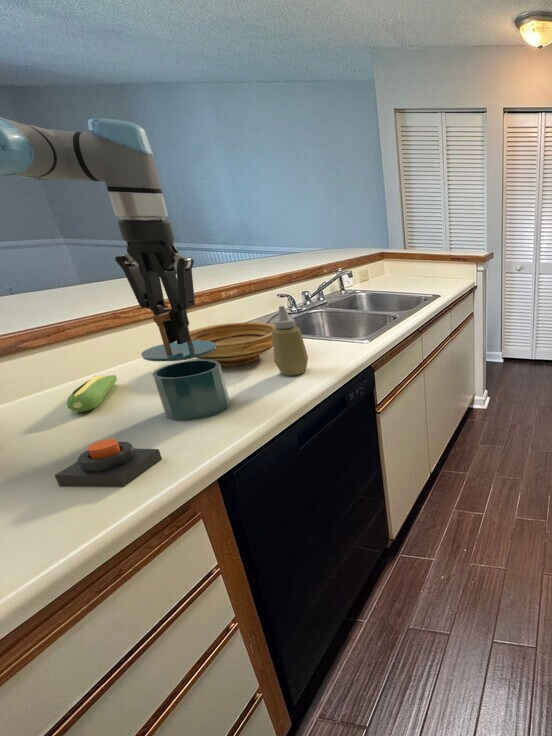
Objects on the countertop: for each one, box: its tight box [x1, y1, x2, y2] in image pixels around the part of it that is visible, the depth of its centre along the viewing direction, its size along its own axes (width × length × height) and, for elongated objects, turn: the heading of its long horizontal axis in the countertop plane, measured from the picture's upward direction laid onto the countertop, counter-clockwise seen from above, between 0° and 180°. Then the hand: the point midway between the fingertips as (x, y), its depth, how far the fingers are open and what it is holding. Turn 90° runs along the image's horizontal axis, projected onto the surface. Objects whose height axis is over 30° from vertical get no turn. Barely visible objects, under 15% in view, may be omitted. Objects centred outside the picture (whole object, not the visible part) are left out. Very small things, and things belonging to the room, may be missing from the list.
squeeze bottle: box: [272, 305, 309, 377], centre depth 110 cm, size 8×8×18 cm
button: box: [87, 438, 121, 459], centre depth 68 cm, size 4×4×2 cm
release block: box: [54, 441, 163, 488], centre depth 69 cm, size 10×8×4 cm
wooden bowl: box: [189, 321, 276, 366], centre depth 121 cm, size 30×24×8 cm
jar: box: [151, 359, 231, 422], centre depth 90 cm, size 11×11×10 cm
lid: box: [140, 310, 217, 362], centre depth 85 cm, size 12×12×9 cm
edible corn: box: [66, 374, 118, 413], centre depth 95 cm, size 5×20×5 cm, turn 27°
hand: (178, 341), depth 86 cm, fingers closed on lid, 2 cm apart
